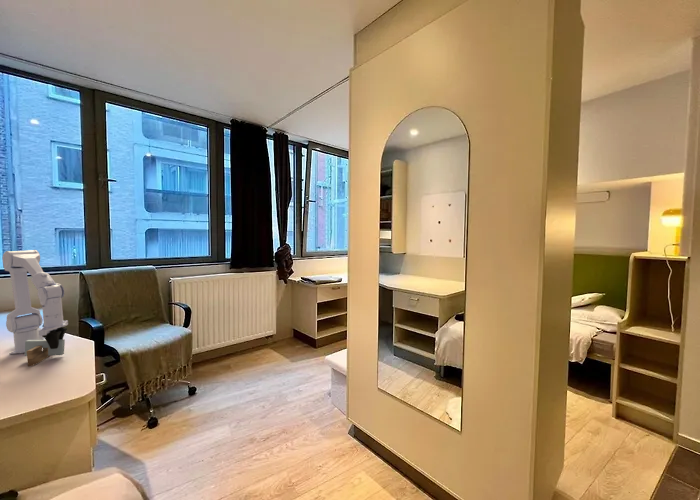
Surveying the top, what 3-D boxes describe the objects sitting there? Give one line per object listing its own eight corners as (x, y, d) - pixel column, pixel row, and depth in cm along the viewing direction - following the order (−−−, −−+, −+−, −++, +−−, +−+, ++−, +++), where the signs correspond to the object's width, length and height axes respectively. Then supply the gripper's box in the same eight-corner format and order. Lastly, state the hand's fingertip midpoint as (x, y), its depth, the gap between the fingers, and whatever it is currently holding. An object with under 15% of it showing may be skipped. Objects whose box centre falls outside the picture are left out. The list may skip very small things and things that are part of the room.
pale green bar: (27, 354, 122) (28, 339, 122) (64, 353, 125) (64, 339, 125) (24, 356, 120) (25, 341, 120) (61, 355, 124) (62, 340, 124)
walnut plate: (52, 352, 129) (51, 339, 129) (56, 352, 130) (55, 338, 129) (28, 366, 116) (26, 351, 116) (33, 365, 116) (31, 350, 116)
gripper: (53, 318, 117) (56, 352, 118) (75, 309, 131) (78, 340, 132) (30, 320, 115) (33, 355, 116) (55, 311, 129) (58, 342, 130)
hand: (56, 347), depth 124 cm, fingers closed on pale green bar, 2 cm apart
